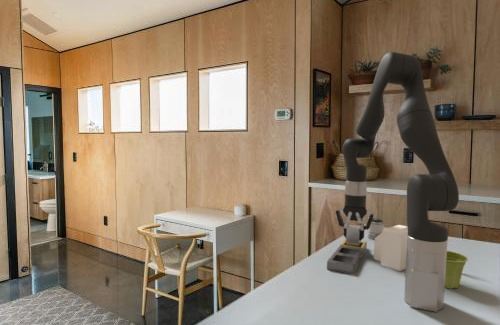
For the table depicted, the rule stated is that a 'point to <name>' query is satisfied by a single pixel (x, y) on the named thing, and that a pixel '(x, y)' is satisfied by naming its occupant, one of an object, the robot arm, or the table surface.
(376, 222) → the camera lens
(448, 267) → the plant pot
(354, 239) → the pale grey square box
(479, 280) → the table surface
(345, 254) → the rail
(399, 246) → the white angular block
